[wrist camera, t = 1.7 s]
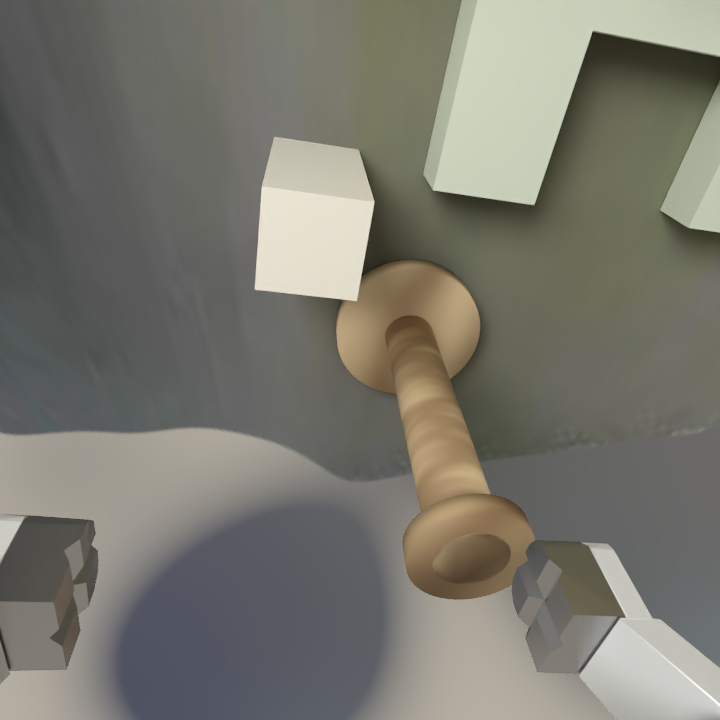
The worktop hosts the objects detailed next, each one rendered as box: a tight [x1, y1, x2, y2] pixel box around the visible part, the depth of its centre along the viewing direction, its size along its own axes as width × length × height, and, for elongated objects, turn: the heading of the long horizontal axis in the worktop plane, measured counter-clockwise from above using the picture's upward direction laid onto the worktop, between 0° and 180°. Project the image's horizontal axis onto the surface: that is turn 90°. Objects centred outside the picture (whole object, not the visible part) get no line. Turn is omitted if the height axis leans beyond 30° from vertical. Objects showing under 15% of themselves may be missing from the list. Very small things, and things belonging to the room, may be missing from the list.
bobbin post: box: [336, 259, 535, 599], centre depth 29 cm, size 9×9×18 cm
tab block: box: [255, 137, 375, 301], centre depth 27 cm, size 4×4×9 cm
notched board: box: [423, 0, 720, 233], centre depth 28 cm, size 20×13×3 cm, turn 81°
